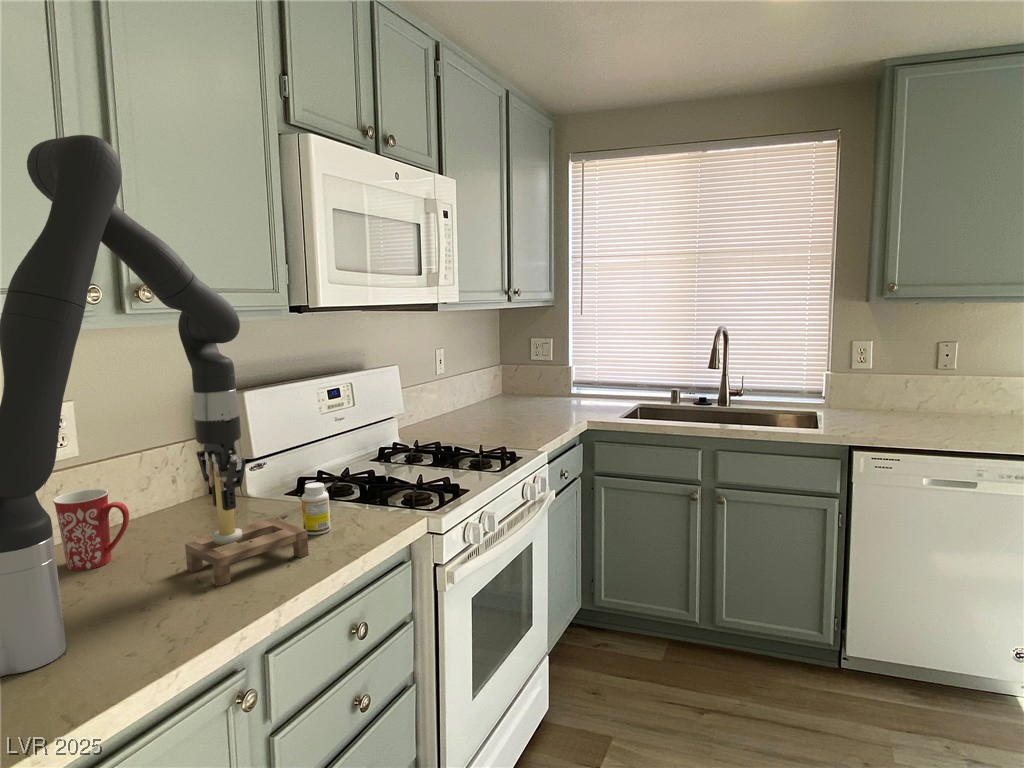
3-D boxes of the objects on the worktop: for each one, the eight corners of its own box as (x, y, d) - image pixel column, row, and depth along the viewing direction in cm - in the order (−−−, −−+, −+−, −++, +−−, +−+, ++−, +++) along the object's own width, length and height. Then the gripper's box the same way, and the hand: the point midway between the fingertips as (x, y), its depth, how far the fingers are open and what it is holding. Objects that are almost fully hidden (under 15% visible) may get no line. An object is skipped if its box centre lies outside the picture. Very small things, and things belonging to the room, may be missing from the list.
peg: (221, 546, 125) (214, 463, 122) (208, 540, 128) (200, 459, 125) (247, 537, 128) (241, 457, 126) (233, 532, 131) (227, 454, 129)
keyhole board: (220, 586, 121) (217, 559, 120) (187, 569, 129) (185, 543, 128) (308, 554, 135) (307, 530, 134) (274, 541, 142) (272, 517, 142)
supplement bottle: (310, 526, 151) (307, 480, 150) (334, 527, 150) (332, 481, 149) (299, 535, 146) (296, 488, 144) (324, 536, 145) (321, 488, 143)
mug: (49, 573, 128) (41, 503, 126) (79, 555, 137) (72, 489, 135) (118, 572, 128) (111, 501, 126) (143, 553, 137) (137, 487, 135)
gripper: (177, 414, 126) (186, 505, 129) (216, 422, 117) (224, 520, 120) (217, 408, 132) (224, 495, 134) (257, 415, 123) (264, 509, 125)
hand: (224, 507), depth 127 cm, fingers closed on peg, 2 cm apart
